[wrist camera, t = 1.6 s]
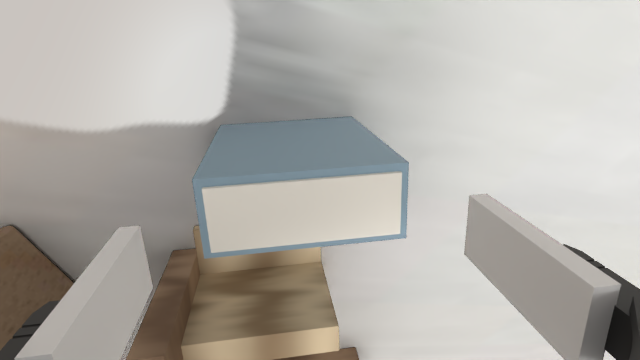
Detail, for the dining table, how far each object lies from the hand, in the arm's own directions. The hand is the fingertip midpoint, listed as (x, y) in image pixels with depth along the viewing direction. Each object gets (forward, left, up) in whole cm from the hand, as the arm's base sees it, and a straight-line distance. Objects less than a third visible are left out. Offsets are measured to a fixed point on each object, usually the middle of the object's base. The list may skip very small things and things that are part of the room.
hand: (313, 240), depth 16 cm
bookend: (-3, -9, -16) cm, 19 cm away
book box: (0, 0, -16) cm, 16 cm away
